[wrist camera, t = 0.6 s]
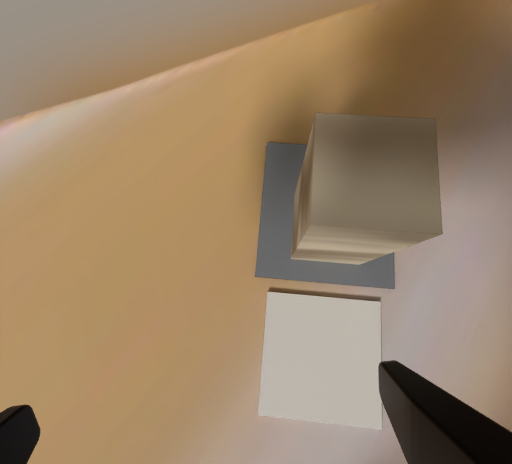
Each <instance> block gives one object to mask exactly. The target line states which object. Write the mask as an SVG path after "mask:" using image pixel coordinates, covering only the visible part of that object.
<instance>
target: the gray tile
mask: <svg viewBox="0 0 512 464" xmlns="http://www.w3.org/2000/svg"><path fill="white" fill-rule="evenodd" d="M306 149H307V145H302V144H285V143H268V142H267V150H266V161H265V172H264V183H263V195H262V206H261V217H260V228H259V239H258V250H257V261H256V273H255V277H263V278H274V279H285V280H297V281H308V282H320V283H331V284H342V285H354V286H365V287H376V288H388V289H395V283H394V252H392V253H390V254H387V255H384V256H382V257H379V258H376V259H374V260H371V261H368V262H365V263H363V264H360V265H355V264H343V263H331V262H319V261H307V260H295V259H291V243H292V227H293V211H294V195H295V192H296V188H297V184H298V180H299V176H300V172H301V168H302V164H303V160H304V157H305V153H306Z"/></svg>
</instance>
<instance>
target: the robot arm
mask: <svg viewBox="0 0 512 464" xmlns="http://www.w3.org/2000/svg"><path fill="white" fill-rule="evenodd" d="M378 378H379V393H380V397H381V400H382V402H383V405H384V407H385V410H386V412H387V414H388V417H389V419H390V422H391V424H392V427H393V429H394V432H395V434H396V436H397V439H398V441H399V444H400V446H401V449H402V451H403V453H404V456H405V458H406V461H407V463H408V464H512V432H510V431H509V430H507V429H506V428H504V427H502V426H501V425H499V424H498V423H496V422H494V421H493V420H491V419H489V418H488V417H486V416H485V415H483V414H481V413H480V412H478V411H477V410H475V409H473V408H472V407H470V406H469V405H467V404H465V403H464V402H462V401H461V400H459V399H457V398H456V397H454V396H452V395H451V394H449V393H448V392H446V391H444V390H443V389H441V388H440V387H438V386H436V385H435V384H433V383H432V382H430V381H428V380H427V379H425V378H423V377H422V376H420V375H419V374H417V373H415V372H414V371H412V370H411V369H409V368H407V367H406V366H404V365H403V364H401V363H399V362H398V361H394V360H392V361H384V362H380V363H379V366H378ZM39 437H40V427H39V425H38V422H37V419H36V417H35V414H34V412H33V409H32V408H31V406H29V405H18V406H12V407H9V408H7V409H6V410H4V411H3V412H1V413H0V464H27V462H28V460H29V458H30V456H31V454H32V452H33V450H34V448H35V446H36V444H37V442H38V440H39Z"/></svg>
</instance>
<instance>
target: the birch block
mask: <svg viewBox="0 0 512 464" xmlns="http://www.w3.org/2000/svg"><path fill="white" fill-rule="evenodd" d="M441 234H443V231H442V216H441V201H440V186H439V170H438V155H437V140H436V124H435V119H427V118H407V117H388V116H368V115H349V114H329V113H316V114H315V118H314V122H313V126H312V129H311V133H310V137H309V141H308V145H307V149H306V153H305V157H304V160H303V164H302V168H301V172H300V176H299V180H298V184H297V188H296V192H295V195H294V211H293V227H292V243H291V259H295V260H307V261H319V262H331V263H343V264H355V265H360V264H363V263H365V262H368V261H371V260H374V259H376V258H379V257H382V256H384V255H387V254H390V253H392V252H395V251H398V250H401V249H403V248H406V247H409V246H411V245H414V244H417V243H419V242H422V241H425V240H428V239H430V238H433V237H436V236H438V235H441Z"/></svg>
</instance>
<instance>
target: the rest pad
mask: <svg viewBox="0 0 512 464" xmlns="http://www.w3.org/2000/svg"><path fill="white" fill-rule="evenodd" d="M380 362H381V302H376V301H365V300H354V299H343V298H332V297H321V296H310V295H299V294H288V293H277V292H268V294H267V306H266V319H265V332H264V344H263V357H262V370H261V383H260V395H259V408H258V415H260V416H269V417H277V418H286V419H294V420H302V421H311V422H319V423H328V424H336V425H345V426H353V427H362V428H370V429H379V430H382V400H381V397H380V393H379V378H378V366H379V363H380Z"/></svg>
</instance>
